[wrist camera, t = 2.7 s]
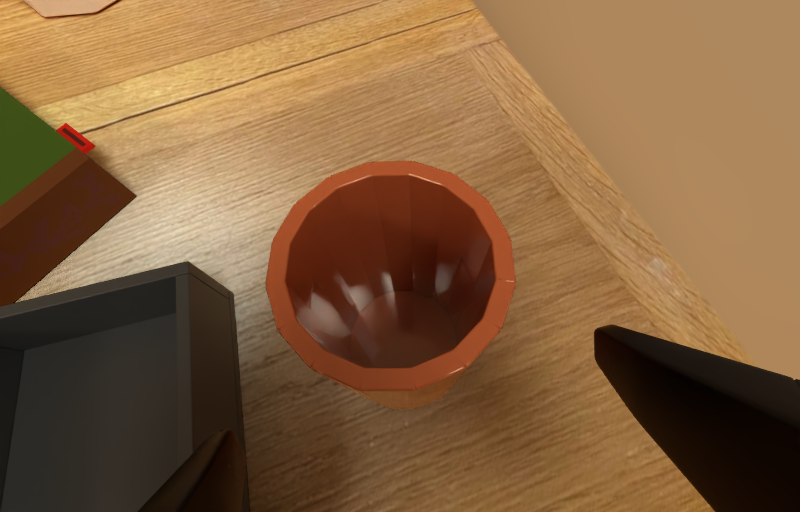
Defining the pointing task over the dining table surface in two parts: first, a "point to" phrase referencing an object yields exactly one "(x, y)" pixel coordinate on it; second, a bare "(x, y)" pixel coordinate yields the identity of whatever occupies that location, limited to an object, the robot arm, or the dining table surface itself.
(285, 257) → the tumbler
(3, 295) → the hardcover book
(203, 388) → the bin
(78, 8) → the cup
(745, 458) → the robot arm
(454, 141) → the dining table surface
